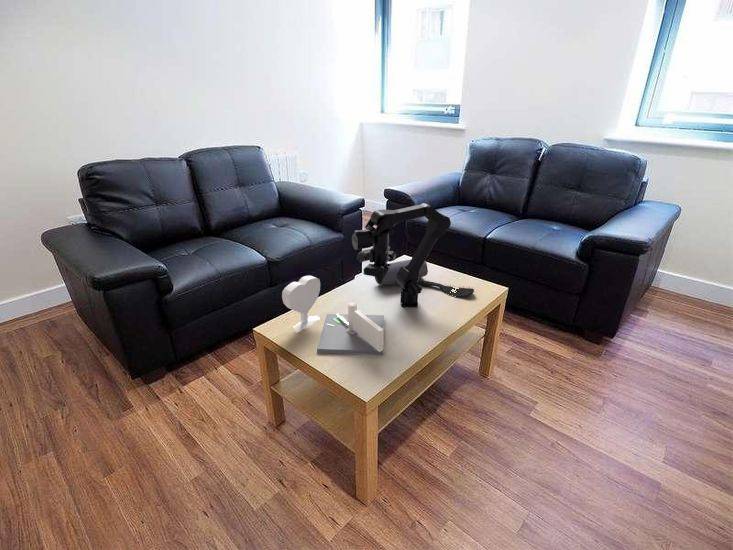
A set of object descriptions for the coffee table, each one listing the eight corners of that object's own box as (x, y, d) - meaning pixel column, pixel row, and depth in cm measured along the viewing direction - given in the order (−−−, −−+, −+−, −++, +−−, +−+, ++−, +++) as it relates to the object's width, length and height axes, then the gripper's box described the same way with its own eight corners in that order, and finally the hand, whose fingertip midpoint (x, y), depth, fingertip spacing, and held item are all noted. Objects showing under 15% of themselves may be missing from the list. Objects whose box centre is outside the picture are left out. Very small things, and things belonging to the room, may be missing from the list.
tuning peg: (333, 316, 144) (332, 293, 140) (340, 314, 146) (339, 291, 142) (377, 355, 124) (377, 329, 119) (384, 352, 125) (385, 326, 121)
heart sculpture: (314, 312, 151) (311, 271, 143) (323, 317, 149) (321, 275, 141) (284, 331, 140) (279, 287, 132) (294, 335, 137) (289, 291, 130)
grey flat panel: (384, 318, 147) (384, 314, 146) (383, 354, 128) (383, 349, 127) (327, 317, 148) (326, 312, 148) (317, 352, 129) (316, 347, 128)
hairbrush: (421, 275, 176) (476, 284, 164) (421, 282, 177) (476, 292, 166) (414, 282, 169) (471, 293, 158) (414, 289, 171) (470, 300, 159)
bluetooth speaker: (382, 291, 167) (382, 270, 162) (373, 282, 175) (373, 262, 170) (427, 281, 175) (429, 261, 170) (417, 273, 182) (418, 254, 178)
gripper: (370, 234, 151) (370, 270, 158) (349, 251, 136) (350, 290, 143) (396, 237, 147) (395, 274, 154) (379, 255, 132) (378, 295, 139)
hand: (380, 283), depth 148 cm, fingers closed
